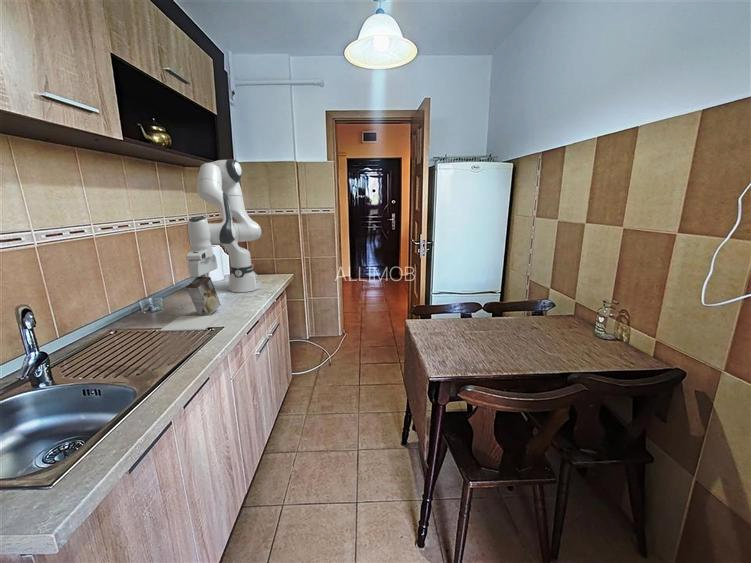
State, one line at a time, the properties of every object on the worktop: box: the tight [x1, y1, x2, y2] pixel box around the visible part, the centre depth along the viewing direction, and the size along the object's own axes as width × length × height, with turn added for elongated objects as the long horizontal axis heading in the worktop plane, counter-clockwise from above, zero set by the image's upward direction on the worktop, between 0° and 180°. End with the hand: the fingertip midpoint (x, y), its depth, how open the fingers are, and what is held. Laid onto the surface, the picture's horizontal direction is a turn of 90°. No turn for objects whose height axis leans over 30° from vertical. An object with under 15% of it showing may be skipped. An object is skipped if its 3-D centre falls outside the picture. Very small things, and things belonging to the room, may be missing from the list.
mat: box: [159, 314, 221, 332], centre depth 146 cm, size 16×18×1 cm
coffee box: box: [185, 276, 222, 316], centre depth 155 cm, size 9×6×16 cm
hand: (206, 282), depth 157 cm, fingers closed
